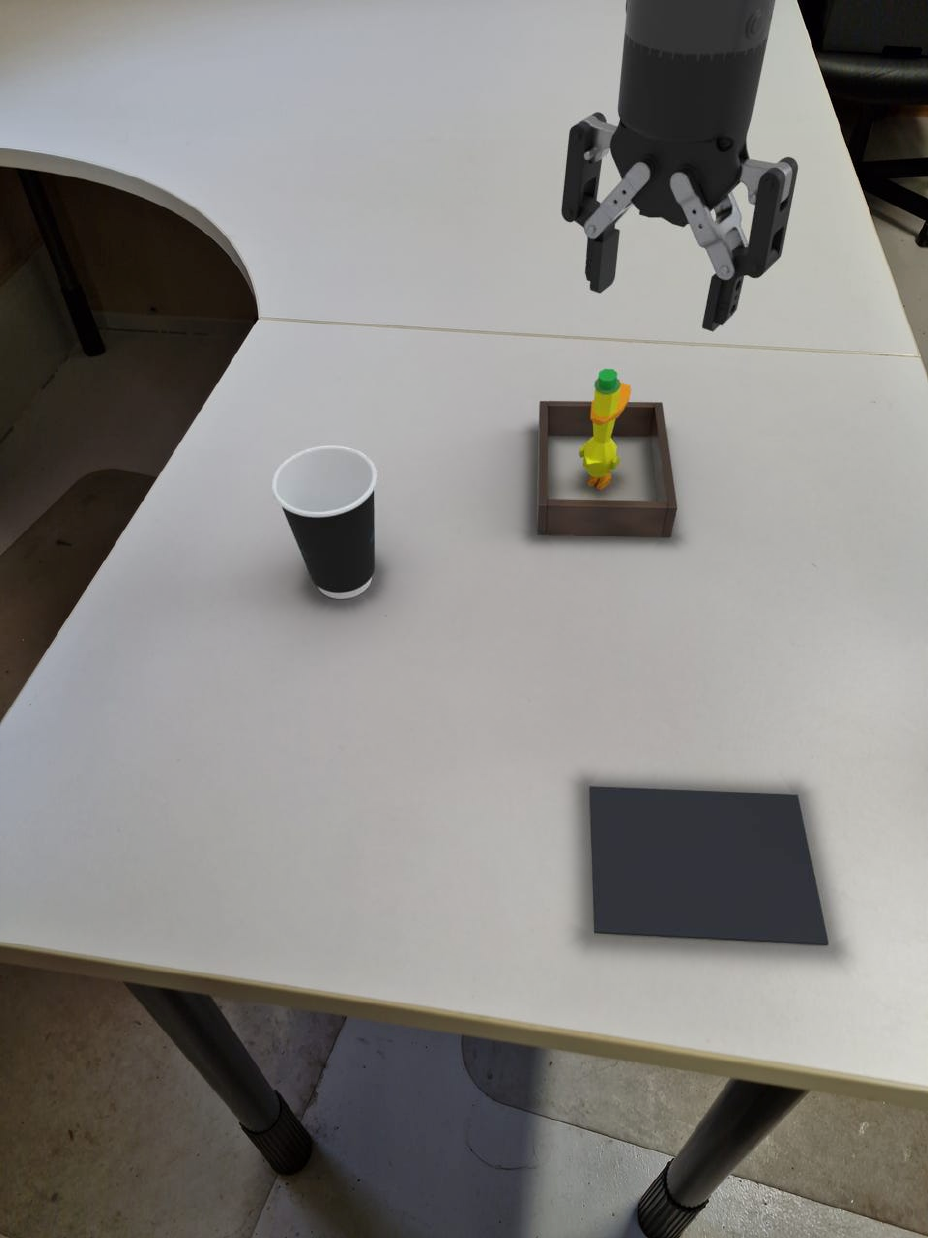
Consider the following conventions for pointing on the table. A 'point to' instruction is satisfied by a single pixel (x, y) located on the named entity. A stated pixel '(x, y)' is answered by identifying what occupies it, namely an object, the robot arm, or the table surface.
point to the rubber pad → (703, 866)
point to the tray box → (606, 513)
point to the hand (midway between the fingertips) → (655, 305)
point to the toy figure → (604, 427)
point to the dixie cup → (331, 515)
